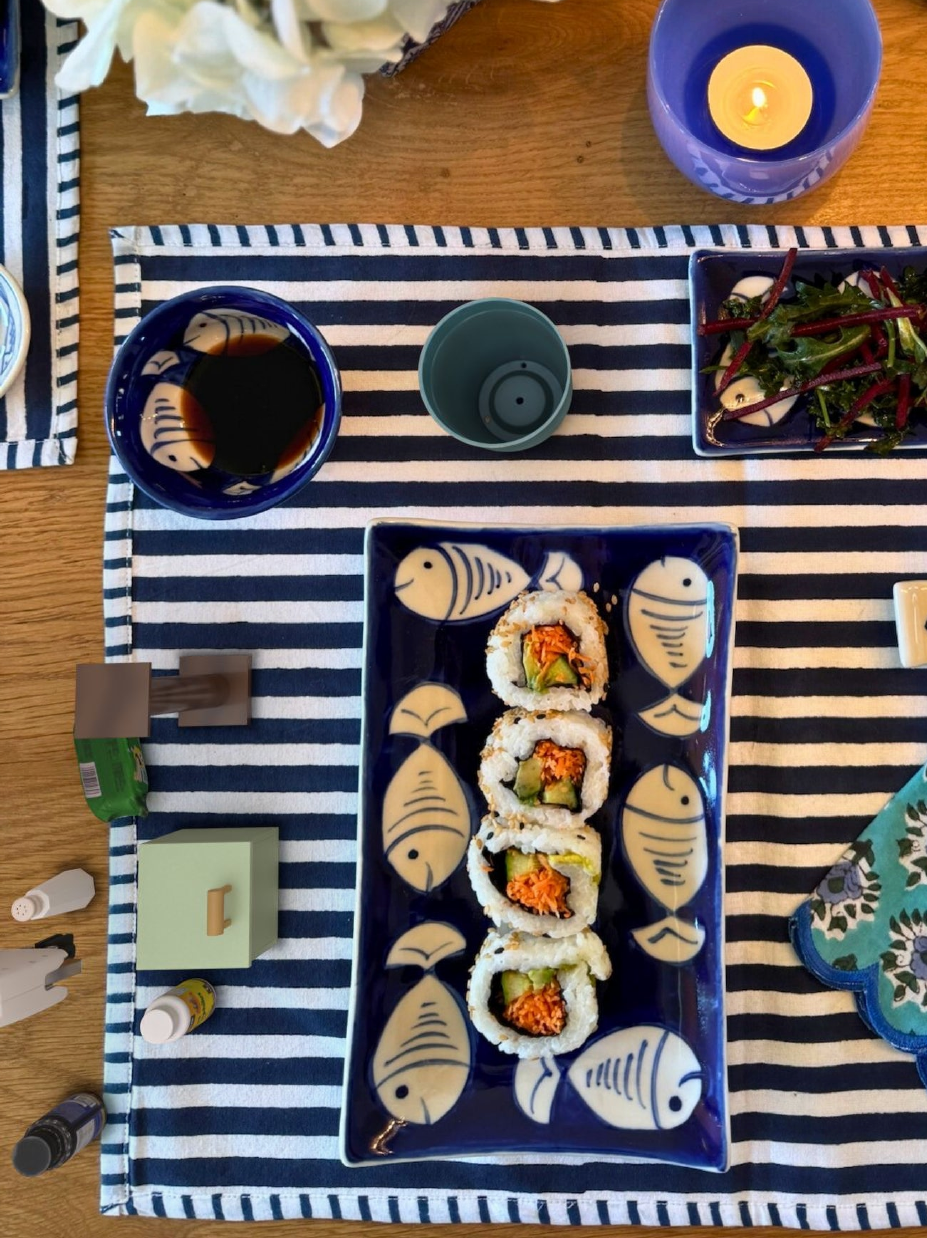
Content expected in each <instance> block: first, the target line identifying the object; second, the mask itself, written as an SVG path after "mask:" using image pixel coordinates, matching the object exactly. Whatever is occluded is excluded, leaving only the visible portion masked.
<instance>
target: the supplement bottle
mask: <svg viewBox="0 0 927 1238" xmlns="http://www.w3.org/2000/svg"><path fill="white" fill-rule="evenodd" d="M216 1006H217V994H216V991H215V989H214V987H213V985H212V984H211V983H210V982H208V981H207V980H205V979H203V978H197V977H196V978H195V977H193V978H189V979H187V980H185V981H183V982H181V983H180V984H178V985H176V986H175V987H173V988H171V989H170V990H168V991H167V992H165V993H163V994H162V995H160V996H158V997H157V998H155V999H154V1000H153V1001H152V1002H151V1003H149V1005H148V1006H147V1007H146V1010H145V1011H144V1015H143V1017H142V1018H141V1021H140V1025H139V1030H140V1034H141V1036H142V1038H143V1039H144V1040H145V1041H146V1042H148V1043H150V1044H153V1045H159V1044H164V1045H165V1044H167V1045H168V1044H173V1043H175V1042H177V1041H178V1040H180V1039H182V1038H183V1037H185V1036H186V1035H187V1034H188V1033H190V1032H191V1031H192V1030H194V1029H195V1028H197V1027H198V1026H199V1025H201V1024H202V1023H204V1022H205V1021H206V1020H207V1019H208V1018H210V1017H211V1016H212V1014H213V1013H214V1011H215V1008H216Z"/></svg>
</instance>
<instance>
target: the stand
mask: <svg viewBox="0 0 927 1238" xmlns="http://www.w3.org/2000/svg"><path fill="white" fill-rule="evenodd" d="M252 656H253V655H252V654H230V655H229V654H227V655H226V654H225V655H191V656H190V655H189V656H188V655H187V656H186V655H185V656H179V662H178V664H179V665H178V675H169V676H153V677H152V670H153V662H152V661H147V662H146V661H145V662H144V661H143V662H142V661H141V662H103V663H102V662H101V663H100V662H99V663H98V662H97V663H76V664H75V691H74V692H75V696H74V723H75V729H74V737H73V740H74V739H87V738H130V737H139V738H150V737H151V724H152V723H151V718H152V717H154V716H161V715H168V714H169V715H170V714H178V717H177V719H178V720H177V726H178V727H216V726H217V727H219V726H220V727H221V726H248V725H249V726H250V725H251V724H252V669H253V667H252V666H253V665H252V663H253V662H252V661H253V657H252Z"/></svg>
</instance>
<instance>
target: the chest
mask: <svg viewBox="0 0 927 1238" xmlns="http://www.w3.org/2000/svg"><path fill="white" fill-rule="evenodd" d="M279 830H280V829H279V827H278V826H268V827H266V826H263V827H259V826H258V827H220V828H219V827H218V828H217V827H216V828H214V827H213V828H182V829H179V830H176V831H173V832H171V833H167V834H164V835H162V836H159V837H156V838H153V839H150V840H147V841H143V843H170V842H216V841H253V871H252V953H251V962H252V961H254V960H255V959H257V958H258V957H260V956H261V955H263V954H264V953H266V952H267V951H268V950H270V949H271V948H273V947H274V946H276V945H277V944H278V940H279V939H278V937H279V935H278V933H279V932H278V931H279V927H278V926H279V918H278V917H279V847H280V845H279V838H280V837H279V834H280V833H279Z"/></svg>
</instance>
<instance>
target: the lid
mask: <svg viewBox="0 0 927 1238" xmlns="http://www.w3.org/2000/svg"><path fill="white" fill-rule="evenodd" d="M252 871H253V841H216V842H170V843H144V842H142V843H139V844H138V872H137V873H138V875H137V916H136V917H137V920H136V922H137V923H136V966H135V967H136V968H135V969H136V970H135V971H154V970H155V971H156V970H159V971H160V970H163V971H164V970H202V969H203V970H206V969H248V968H251V967H252V961H251V953H252Z"/></svg>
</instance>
